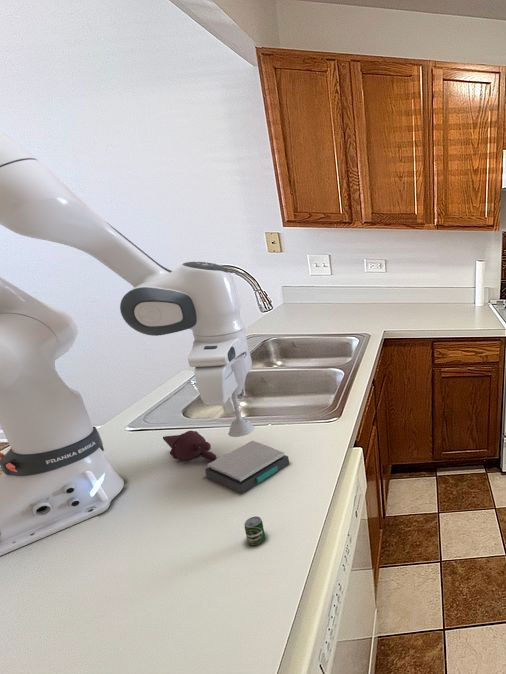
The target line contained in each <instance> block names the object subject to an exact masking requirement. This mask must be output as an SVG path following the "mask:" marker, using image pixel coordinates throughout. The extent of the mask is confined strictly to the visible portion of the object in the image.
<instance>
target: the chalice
mask: <svg viewBox="0 0 506 674" xmlns="http://www.w3.org/2000/svg"><path fill="white" fill-rule="evenodd" d="M244 354H245V352H244V353H243V355H242V356H239V357H236V358H235V359H234V360H237V359H240V360H238V361H236V362H234V363H233V364H232V365H231V369H232V371H234V375H235V379H236V382H237V384H238V387H237V388H236V389H235V391H234V392H233V393H232V398H231V399H232V401H233V402H235V406H236V409H235V410H234V412H233V413H232V414H234V415H235V419H234V420H233V421H232V422H231V424H230V425H229V426H230V427H229V429H228V430H229V431H228V433H227V434H228V436H229V437H232V438H240V437H245V436H247V435H249V434H250V435H251V433H253V432H254V431H255V426H254V425H253V424H252V422H250V420H248V419H246V418H244V417H242V412H243V409H241V408H240V404H241V402H240V401H239V399H237V395H239V394H240V393H241V392H242V389H243V386H244V383H246V379H247V375H248V373H246V368H245V363H244V358H243V357H244ZM241 358H242V359H241ZM246 374H247V375H246ZM244 387H245V386H244Z"/></svg>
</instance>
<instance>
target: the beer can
mask: <svg viewBox="0 0 506 674" xmlns="http://www.w3.org/2000/svg"><path fill="white" fill-rule="evenodd" d="M243 524H244V532H245V537H246V540H247V543H248V545H249V546H258V545H261V544H262V543H263V542H264V541H265V540H266V533H265V528H264V523H263V520H262V518H261V517H260V516H257V515H256V516H255V515H254V516H251V517H249V518H247V519H246V520H245V522H244V523H243Z"/></svg>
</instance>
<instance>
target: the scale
mask: <svg viewBox="0 0 506 674" xmlns="http://www.w3.org/2000/svg"><path fill="white" fill-rule="evenodd" d="M289 465H290V459H289V455H286V454H284V456H283V457H281V458H279V459H278V460H276V461H274V462H273V463H271V464H269V465H268V466H266V467H264V468H263V469H261V470H259V471H258V472H256V473H254V474H253V475H251V476H249V477H248V478H246V479H244V480H243V481H241V482H240V481H238V480H236V479H233V478H231V477H229V476H227V475H225V474H222V473H220V472H218V471H216V470H213V469H211V468H209V467H208V466H207V467H206V468H205V469H204V471H205V475H206V478H208V479H209V480H211V481H214V482H216V483H218V484H220V485H222V486H224V487H226V488H229V489H231V490H233V491H235V492H237V493H239V494H244V493H246V492H248V491H249V490H251V489H252V488H254V487H256V486H258V484H260V483H262V482H263V481H265V480H266V479H268V478H270V477H271V476H273V475H275V474H276V473H277V472H280V471H281V470H283V469H284V468H286V467H287V466H289Z"/></svg>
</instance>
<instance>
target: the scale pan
mask: <svg viewBox="0 0 506 674" xmlns="http://www.w3.org/2000/svg"><path fill="white" fill-rule="evenodd" d="M284 455H285V452H284V451H282V450H279V449H276V448H273V447H271V446H269V445H266V444H263V443H260V442H257V441H256V440H251V441H249V442H247V443H245V444H244V445H241V446H239V447H237V448H236V449H233V450H232V451H230V452H228V453H226V454H224V455H222V456H220V457H218V458H216V460H214V461H210V462H209V463H207V468H208V467H209V468H211V469H213V470H216V471H218V472H220V473H222V474H225V475H227V476H229V477H231V478H233V479H236V480H238V481H240V482H241V481H243V480H244V479H246V478H248V477H249V476H251V475H253V474H254V473H256V472H258V471H259V470H261V469H263V468H264V467H266V466H268V465H269V464H271V463H273V462H274V461H276V460H278V459H279V458H281V457H283V456H284Z"/></svg>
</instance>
